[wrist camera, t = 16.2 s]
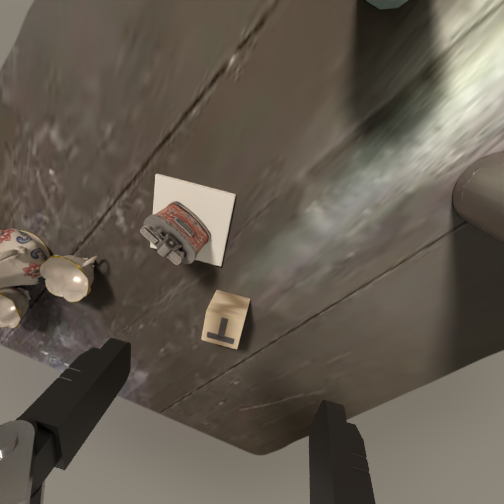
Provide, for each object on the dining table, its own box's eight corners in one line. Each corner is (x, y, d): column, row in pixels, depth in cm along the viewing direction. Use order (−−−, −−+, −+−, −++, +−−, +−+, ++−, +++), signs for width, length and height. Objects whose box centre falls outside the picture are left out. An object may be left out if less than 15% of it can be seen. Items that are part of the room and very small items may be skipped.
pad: (236, 194, 41) (235, 195, 40) (221, 264, 46) (220, 266, 46) (157, 173, 41) (155, 174, 41) (152, 245, 47) (150, 247, 46)
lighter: (216, 234, 43) (194, 263, 34) (202, 247, 45) (177, 278, 36) (176, 196, 42) (143, 215, 33) (163, 210, 43) (127, 233, 34)
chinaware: (34, 317, 60) (-44, 387, 46) (-37, 258, 54) (-153, 318, 40) (125, 264, 51) (63, 332, 37) (52, 186, 45) (-57, 230, 30)
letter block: (250, 298, 48) (244, 321, 43) (243, 326, 51) (236, 351, 45) (216, 289, 48) (206, 311, 43) (211, 317, 51) (200, 341, 46)
